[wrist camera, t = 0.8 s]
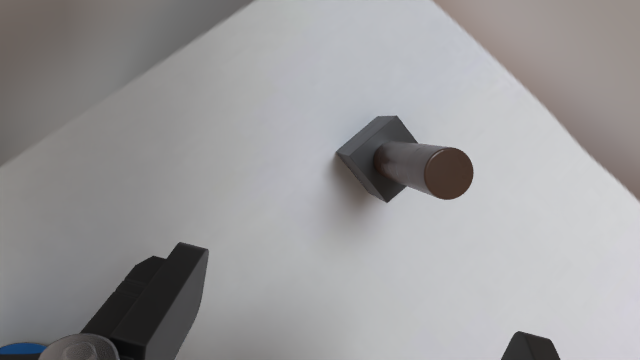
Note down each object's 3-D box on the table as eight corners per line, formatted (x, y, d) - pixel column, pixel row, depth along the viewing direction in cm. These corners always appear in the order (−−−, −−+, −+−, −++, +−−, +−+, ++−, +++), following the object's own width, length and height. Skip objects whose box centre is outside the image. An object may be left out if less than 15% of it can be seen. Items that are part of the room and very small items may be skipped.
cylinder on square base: (335, 151, 32) (390, 169, 20) (377, 116, 32) (456, 112, 20) (369, 193, 33) (442, 233, 21) (410, 158, 33) (505, 178, 21)
